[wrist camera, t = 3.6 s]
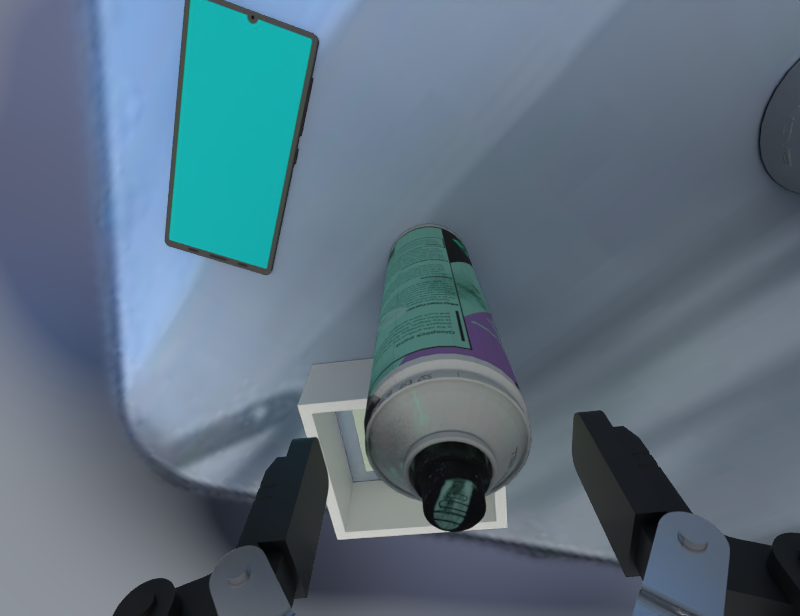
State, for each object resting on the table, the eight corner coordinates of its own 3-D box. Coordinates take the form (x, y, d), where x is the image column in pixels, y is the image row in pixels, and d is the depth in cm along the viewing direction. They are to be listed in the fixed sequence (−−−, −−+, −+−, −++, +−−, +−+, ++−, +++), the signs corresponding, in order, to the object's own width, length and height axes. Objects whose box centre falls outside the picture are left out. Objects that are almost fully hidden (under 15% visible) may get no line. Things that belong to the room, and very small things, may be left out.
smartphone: (164, 244, 29) (185, -14, 23) (170, 241, 30) (193, -10, 23) (270, 276, 30) (320, 36, 23) (274, 272, 30) (323, 38, 24)
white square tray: (488, 346, 32) (501, 385, 28) (495, 477, 38) (507, 527, 33) (312, 364, 33) (297, 405, 29) (346, 489, 39) (337, 539, 34)
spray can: (401, 306, 31) (387, 589, 13) (378, 236, 29) (321, 457, 11) (475, 287, 30) (571, 560, 12) (457, 213, 28) (542, 411, 10)
